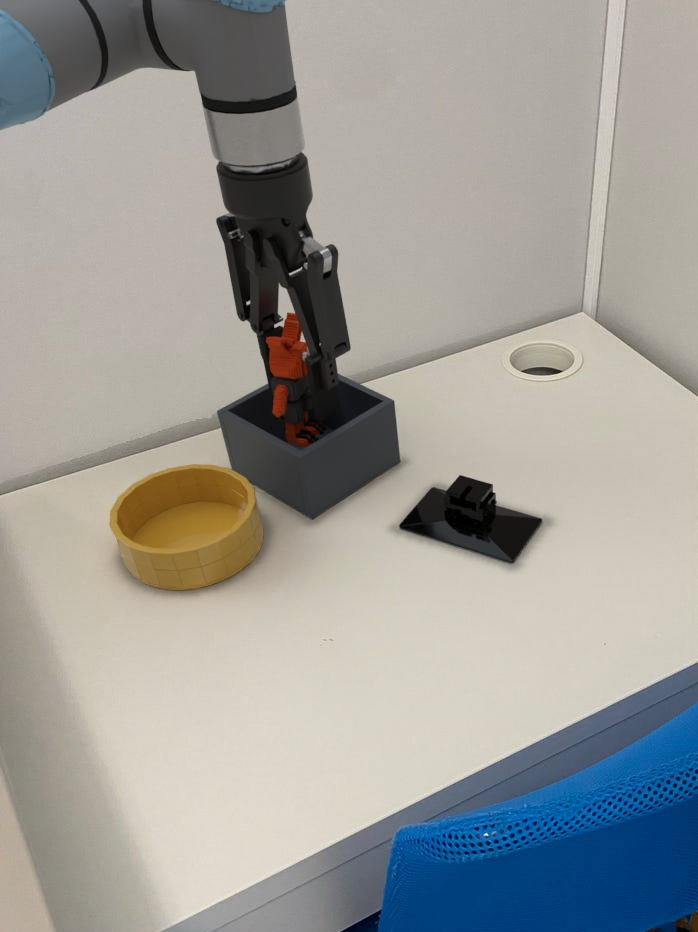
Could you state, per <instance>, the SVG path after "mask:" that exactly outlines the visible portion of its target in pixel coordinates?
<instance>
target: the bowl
mask: <svg viewBox="0 0 698 932" xmlns="http://www.w3.org/2000/svg"><path fill="white" fill-rule="evenodd" d="M261 515H262V514H261V511H260V507H259V502H258V498H257V495H256V490H255V488H254V486H253V484H251V483H250V482H249V481H248V480H247V478H245V477H244V476H242V475H241V474H239V473H237V472H236V471H234V470H232V468H228V467H224V466H220V465H217V464H203V463H202V464H201V463H199V464H197V463H193V464H185V465H184V464H183V465H179V466H172V467H168V468H165V469H162V470H159V471H156V472H153V473H150V474H148V475H147V476H145V477H143V478H141V479H139V480H138V481H136V482H134V483H132V484H131V485H129V486H128V487H127V489H125V490H124V491H123V492H122V493H121V494H119V496H118V497H117V498H116V500H115V502H114V504H113V505H112V507H111V509H110V510H109V521H108V522H109V523H108V526H109V528H110V531H111V533H112V536H113V539H114V541H115V544H116V546H117V549H118V551H119V554H120V556H121V558H122V560H123V563H124V566H125V567H126V569H127V571H128V572H129V574H130V575H131V576H133V578H135V579H136V580H137V581H139V582H141V583H143V584H144V585H147V586H149V587H154V588H155V589H162V590H169V591H171V590H172V591H187V590H195V589H200V588H205V587H209V586H212V585H214V584H218V583H220V582H223V581H225V580H228V579H229V578H231V577H233V576H235V575H236V574H238V573H239V572H240V571H242V570H244V569H245V568H246V567H247V566H249V564H251V563H252V562H253V561H254V559H255V558H256V557H257V555H258V554H259V552H260V551H261V548H262V547H263V543H264V539H265V531H264V525H263V520H262V516H261Z"/></svg>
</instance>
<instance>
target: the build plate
mask: <svg viewBox="0 0 698 932" xmlns="http://www.w3.org/2000/svg"><path fill="white" fill-rule="evenodd" d="M497 503H498V500H497V493H496V492H494V484H493V483H489V482H486V481H483V480H479V479H476V478H472V477H469V476H465V475H462V474H459V475H458V476H457V477H456V478H455V479H454V481H453V482H452V483H451V485H450V486H449V487H448V488H447V489H446V490H445V489H442V488H439V487H435V486H433V487H432V486H431V488H429V490H428V491H427V492H426V493H425V495H423V497H422V498H421V499H420V500H419V502H418V503H417V504H416V505H415V506H414V507H413V508H412V509H411V510H410V512H409V513H408V514H407V515H406V517H404V519H403V520H402V521H401V522H400V523H399V525H398V528H399V530H402V531H404V532H408V533H412V534H413V535H418V536H421V537H425V538H427V539H431V540H434V541H436V542H440V543H442V544H443V543H444V544H447V545H450V546H453V547H456V548H459V549H462V550H466V551H469V552H471V553H475V554H478V555H482V556H485V557H488V558H491V559H494V560H498V561H501V562H504V563H508V564H510V565H511V564H514V563H515V562H516V560H517V559H518V557H519V556H520V555H521V554H522V552H523V551H524V549H525V548H526V546H527V545H528V543H529V542H530V541H531V539H532V538H533V536H535V534H536V532H537V531H538V529H539V528H540V526H541V525H542V524H543V518H541V517H538V516H534V515H530V514H528V513H525V512H520V511H517V510H513V509H510V508H507V507H503V506H500V505H497Z"/></svg>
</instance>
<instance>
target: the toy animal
mask: <svg viewBox="0 0 698 932" xmlns="http://www.w3.org/2000/svg"><path fill="white" fill-rule="evenodd" d="M283 321H284V322H283V327H284V328H283V333H282V337H275V336H273V337H267V338H266V343H267V344H268V346H269V348H270V352H269V355H270V356H269V360H270V361H269V365H270V371H271V372H272V374H273V375H274V376H273V378H272V379H271V388H272V393H273V395H274V401H273V402H274V405H273V410H272V412H273V414H274V415H275V419H276V420H278V419H279V420H280V421H282V422H285V425H286V432H285V434H286V440H288V442H289V443H296V444H298V445H299V446H300V447H306V446H307V447H308V446H310V445H311V444H313V443H315V442H316V441H318V440H319V438H318V437H315V435H316V434H321V435H323V434H324V431H326V429H327V427H326V426H323V422H319V420H317V419H315V418H310V417H308V412H307V411H309V410H310V409H311V408H312V406H313V402H312V397H311V391H310V387H309V386H308V385H309V380H308V374H307V368H306V362H305V358H307V357H308V356H310V352H309V350H308V347H307V344H306V341H301V339H302V334H303V333H302V330H301V328H300V325H299V322H298V319H297V317H296V314H295V312H286V318H285V319H283Z"/></svg>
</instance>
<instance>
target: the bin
mask: <svg viewBox="0 0 698 932" xmlns="http://www.w3.org/2000/svg"><path fill="white" fill-rule="evenodd" d="M338 378H339V384H338V386H337V388H338V394H339V401H340V408H341V410H339V411H338V412H336V413H334V414H333V415H331V416H329V417H327V418H326V419H324V420H322V421H321V422H323V426H326V427H327V429H326V431H324V434H323V435H321V434H316V435H315V437H318V438H319V440H318V441H316V442H315V443H313V444H311V445H310V446H308V447H307V446H306V447H300V446H299V445H298V444H296V443H289V442H288V440H286V434H285V432H286V425H285V422H282V421H280V420H279V419H278V420H276V419H275V415H274V414H273V412H272V410H273V405H274V402H273V401H274V397H272V396H271V395H270V390H269V385H268V383H265V384H264V385H263V386H260V387H258V388H256V389H255V390H253V391H251V392H249V393H247V394H246V395H244V396H241V397H240V398H238V399H236V400H235V401H232V402H231V403H229V404H227V405H225V406H223V407H221V408H219V409H217V410H216V415H217V418H218V422H219V425H220V430H221V433H222V437H223V441H224V445H225V449H226V453H227V457H228V461H229V464H230V469H232V470H234V471H236V472H237V473H239V474H241V475H242V476H244V477H245V478H247V480H248V481H249V482H250V484H251V485H252V486H255V487H257V488H258V489H260V490H261V491H263V492H265V493H266V494H268V495H270V496H271V497H273V498H275V499H276V500H278V501H280V502H282V503H283V504H284V505H286V506H288V507H290V508H292V509H293V510H295V511H296V512H298V513H300V514H301V515H304V516H305V517H307V518H309V519H310V520H315V519H316V518H318V517H319V516H321V515H322V514H324V513H325V512H326V511H328V510H330V509H331V508H333V507H334V506H336V505H338V504H339V503H340V502H342V501H343V500H345V499H346V498H348V497H350V496H351V495H353V494H354V493H355V492H358V490H360V489H361V488H363V487H364V486H366V485H368V484H370V483H371V482H372V481H374V480H375V479H377V478H378V477H380V476H381V475H383V474H385V473H386V472H388V471H389V470H390V469H392V468H393V467H395V466H397V465H398V464H400V463H401V454H400V444H399V434H398V423H397V414H396V404H395V400H394V399H392V398H390V397H388V396H386V395H383V394H382V393H379V392H377V391H375V390H374V389H372V388H369V387H367V386H365V385H363V384H361V383H358V382H356V381H355V380H352V379H351V378H348V377H346V376H345V375H344V376H343V375H342V374H340V373H338ZM308 386H309V387H310V385H308ZM307 412H308V417H310V418H315V414H314V408H313V406H312V408H311V409H310V410H309V411H307ZM319 422H320V421H319Z"/></svg>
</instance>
